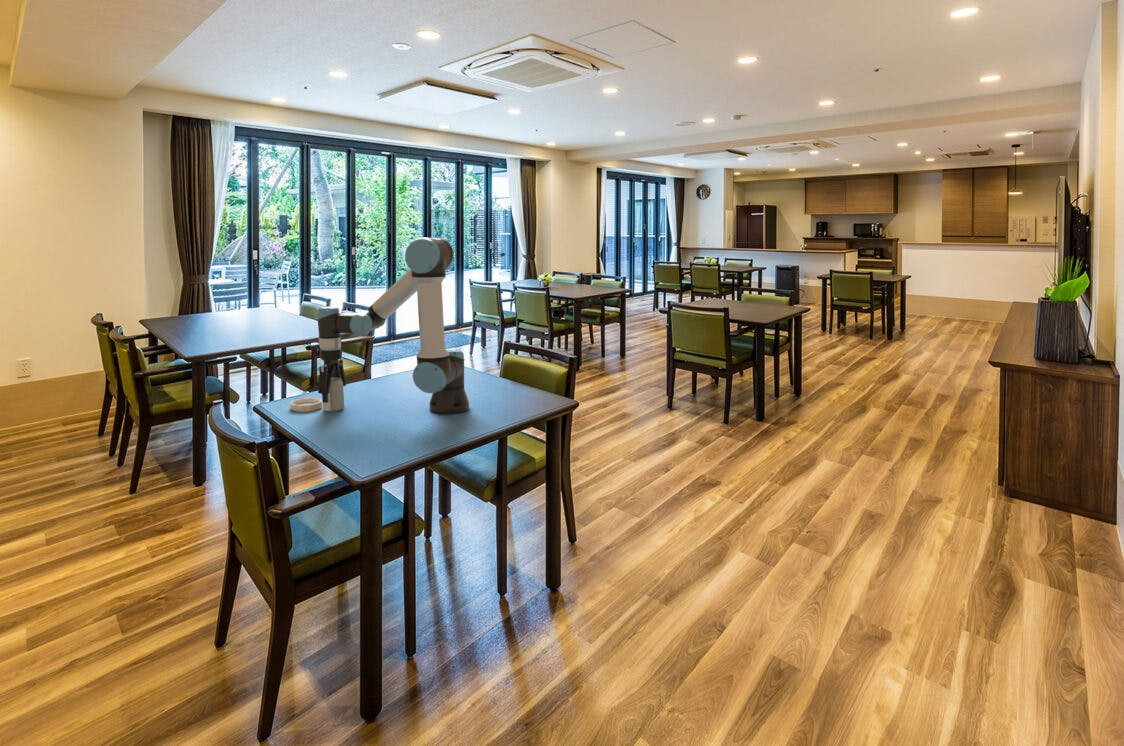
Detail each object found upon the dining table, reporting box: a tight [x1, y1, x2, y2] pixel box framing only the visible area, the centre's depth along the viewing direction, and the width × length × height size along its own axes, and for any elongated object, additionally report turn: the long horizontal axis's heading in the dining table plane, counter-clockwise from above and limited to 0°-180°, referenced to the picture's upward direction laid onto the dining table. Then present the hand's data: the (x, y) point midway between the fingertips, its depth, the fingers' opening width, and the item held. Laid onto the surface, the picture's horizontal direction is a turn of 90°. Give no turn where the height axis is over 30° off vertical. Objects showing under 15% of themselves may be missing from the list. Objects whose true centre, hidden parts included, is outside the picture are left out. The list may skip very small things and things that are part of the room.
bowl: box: [290, 397, 323, 413], centre depth 234 cm, size 11×11×2 cm
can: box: [328, 376, 345, 413], centre depth 232 cm, size 8×8×12 cm
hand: (333, 406), depth 233 cm, fingers open, 10 cm apart
